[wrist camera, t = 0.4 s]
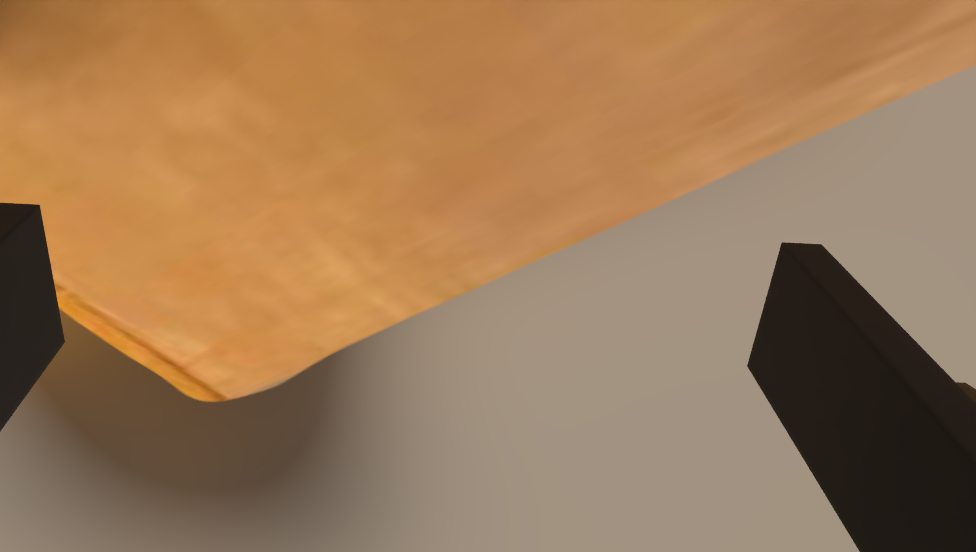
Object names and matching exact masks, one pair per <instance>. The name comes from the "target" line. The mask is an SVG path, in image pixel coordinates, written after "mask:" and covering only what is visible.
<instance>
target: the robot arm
mask: <svg viewBox="0 0 976 552" xmlns="http://www.w3.org/2000/svg"><path fill="white" fill-rule="evenodd" d="M64 342H65V340H64V335H63V330H62V324H61V318H60V313H59V307H58V302H57V297H56V291H55V286H54V280H53V275H52V269H51V264H50V259H49V253H48V248H47V242H46V237H45V232H44V226H43V221H42V215H41V210H40V205H33V204H14V203H0V431H1V429H2V428H3V427H4V425H5V424H6V423H7V421H8V420H9V418H10V417H11V416H12V414H13V413H14V412H15V410H16V409H17V407H18V406H19V405H20V403H21V402H22V400H23V399H24V398H25V396H26V395H27V394H28V392H29V391H30V389H31V388H32V387H33V385H34V384H35V383H36V381H37V380H38V378H39V377H40V376H41V374H42V373H43V372H44V370H45V369H46V367H47V366H48V365H49V363H50V362H51V360H52V359H53V358H54V356H55V355H56V353H57V352H58V351H59V349H60V348H61V347H62V345H63V344H64ZM747 366H748V368H749V370H750V371H751V373H752V374H753V376H754V378H755V380H756V381H757V383H758V385H759V386H760V388H761V389H762V391H763V393H764V394H765V396H766V398H767V399H768V401H769V403H770V404H771V406H772V408H773V409H774V411H775V413H776V414H777V416H778V418H779V419H780V421H781V423H782V424H783V426H784V427H785V429H786V431H787V432H788V434H789V436H790V437H791V439H792V441H793V442H794V444H795V446H796V447H797V449H798V451H799V452H800V454H801V455H802V457H803V459H804V460H805V462H806V464H807V465H808V467H809V469H810V470H811V472H812V473H813V475H814V477H815V479H816V480H817V482H818V484H819V485H820V487H821V488H822V490H823V492H824V493H825V495H826V497H827V498H828V500H829V502H830V503H831V505H832V506H833V508H834V510H835V511H836V513H837V515H838V516H839V518H840V520H841V521H842V523H843V525H844V526H845V528H846V530H847V531H848V533H849V534H850V536H851V538H852V539H853V541H854V543H855V544H856V546H857V548H858V549H859V551H860V552H976V389H974V388H973V387H971V386H970V385H968V384H966V383H956V382H954V380H952V378H951V377H950V376H949V375H948V374H947V373H946V372H945V371H944V370H943V369H942V368H941V367H940V366H939V365H938V364H937V363H936V362H935V361H934V360H933V359H932V358H931V357H930V356H929V355H928V354H927V353H926V352H925V351H924V350H923V349H922V348H921V347H920V345H918V343H917V342H916V341H915V340H914V339H913V338H912V337H911V336H910V335H909V334H908V333H907V332H906V331H905V330H904V329H903V328H902V327H901V326H900V325H899V324H898V323H897V322H896V321H895V320H894V319H893V318H892V317H891V316H890V315H889V314H888V313H887V312H886V311H885V310H884V308H882V306H881V305H880V304H879V303H878V302H877V301H876V300H875V299H874V298H873V297H872V296H871V295H870V294H869V293H868V292H867V291H866V290H865V289H864V288H863V287H862V286H861V285H860V284H859V283H858V282H857V281H856V280H855V279H854V278H853V277H852V276H851V275H850V273H848V271H846V270H845V268H844V267H843V266H842V265H841V264H840V263H839V262H838V261H837V260H836V259H835V258H834V257H833V256H832V255H831V254H830V253H829V252H828V251H827V250H826V249H825V248H824V247H823V246H822V245H821V244H802V243H782V244H781V247H780V251H779V255H778V258H777V261H776V265H775V269H774V272H773V276H772V279H771V283H770V287H769V290H768V294H767V297H766V301H765V304H764V308H763V312H762V315H761V319H760V322H759V326H758V330H757V333H756V337H755V340H754V344H753V348H752V351H751V355H750V358H749V362H748V365H747Z"/></svg>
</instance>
